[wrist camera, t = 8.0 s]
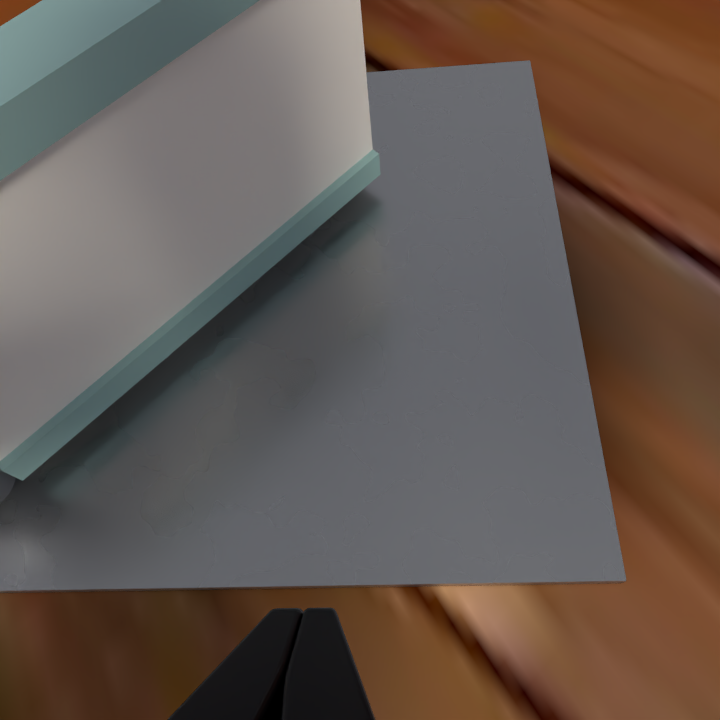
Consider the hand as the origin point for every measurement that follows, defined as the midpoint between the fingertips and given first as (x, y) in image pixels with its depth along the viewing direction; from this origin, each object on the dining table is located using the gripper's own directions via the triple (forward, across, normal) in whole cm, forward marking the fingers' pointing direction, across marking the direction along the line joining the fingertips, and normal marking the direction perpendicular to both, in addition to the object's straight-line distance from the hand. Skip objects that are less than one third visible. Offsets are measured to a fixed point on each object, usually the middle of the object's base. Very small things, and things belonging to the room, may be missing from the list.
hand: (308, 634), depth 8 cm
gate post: (+15, +5, -2) cm, 16 cm away
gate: (+13, +6, -2) cm, 14 cm away
